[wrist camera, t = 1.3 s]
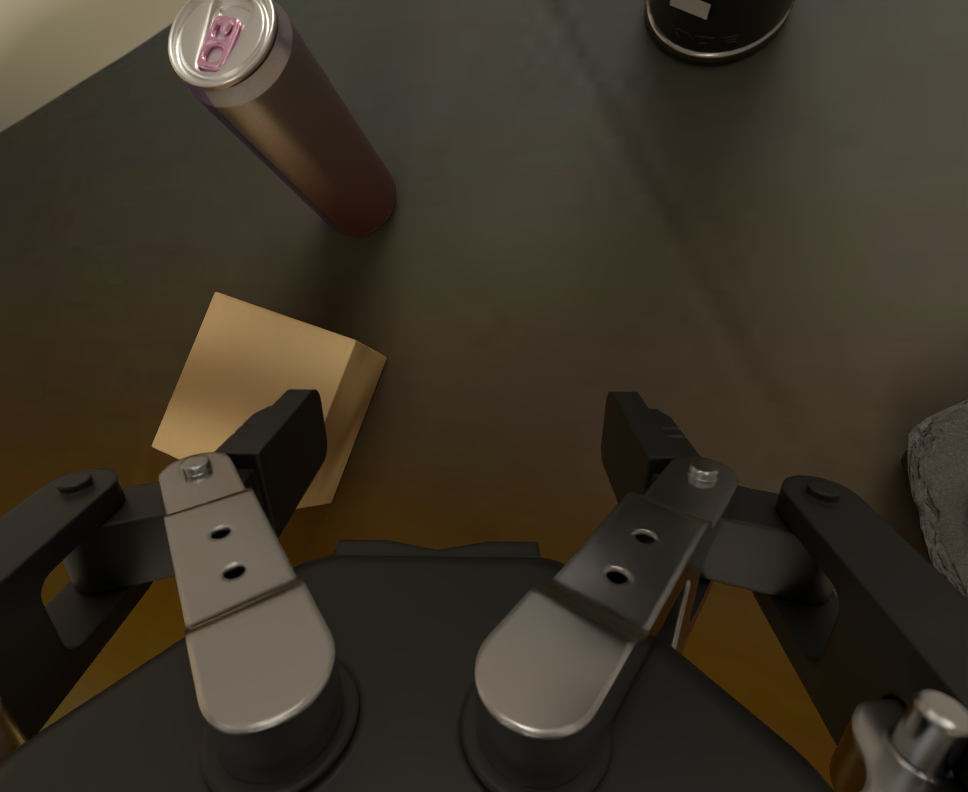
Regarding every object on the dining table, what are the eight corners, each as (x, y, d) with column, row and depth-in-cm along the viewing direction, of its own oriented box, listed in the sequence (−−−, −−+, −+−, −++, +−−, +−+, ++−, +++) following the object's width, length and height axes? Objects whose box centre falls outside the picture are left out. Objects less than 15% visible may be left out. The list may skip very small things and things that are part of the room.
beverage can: (315, 229, 37) (144, 78, 23) (342, 159, 38) (192, -34, 23) (383, 248, 36) (248, 99, 21) (410, 175, 36) (296, -20, 22)
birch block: (262, 313, 37) (214, 291, 32) (387, 357, 35) (356, 340, 30) (207, 449, 36) (150, 446, 31) (331, 503, 34) (290, 510, 29)
